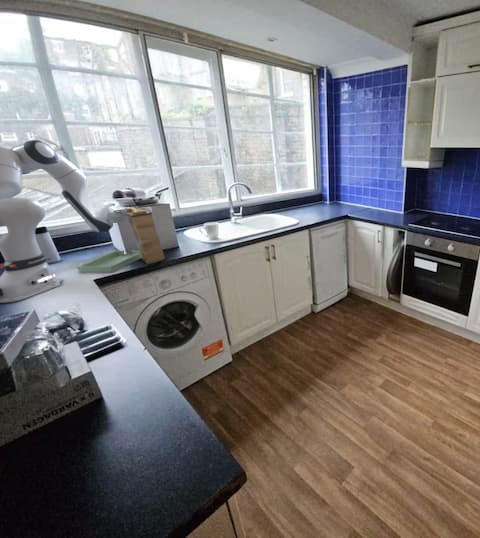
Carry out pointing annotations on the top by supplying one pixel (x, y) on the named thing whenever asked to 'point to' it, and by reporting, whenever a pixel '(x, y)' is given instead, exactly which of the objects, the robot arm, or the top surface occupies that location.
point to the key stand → (146, 237)
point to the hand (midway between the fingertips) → (131, 208)
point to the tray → (110, 262)
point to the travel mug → (47, 245)
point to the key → (136, 211)
